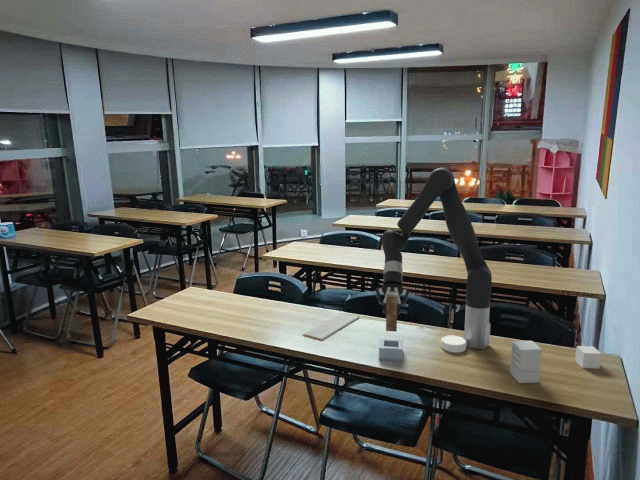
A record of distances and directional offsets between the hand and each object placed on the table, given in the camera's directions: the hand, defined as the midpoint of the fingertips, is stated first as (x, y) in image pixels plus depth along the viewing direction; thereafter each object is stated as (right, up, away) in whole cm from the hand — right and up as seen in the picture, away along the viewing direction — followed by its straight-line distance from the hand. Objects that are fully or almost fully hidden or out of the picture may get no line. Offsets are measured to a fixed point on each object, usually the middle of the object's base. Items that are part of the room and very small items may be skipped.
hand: (391, 313), depth 176 cm
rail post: (0, -6, +3) cm, 7 cm away
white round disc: (+27, -16, +12) cm, 34 cm away
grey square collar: (+1, -17, +6) cm, 18 cm away
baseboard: (-22, -12, +36) cm, 44 cm away
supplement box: (+45, -21, -13) cm, 51 cm away
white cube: (+72, -18, -4) cm, 75 cm away
